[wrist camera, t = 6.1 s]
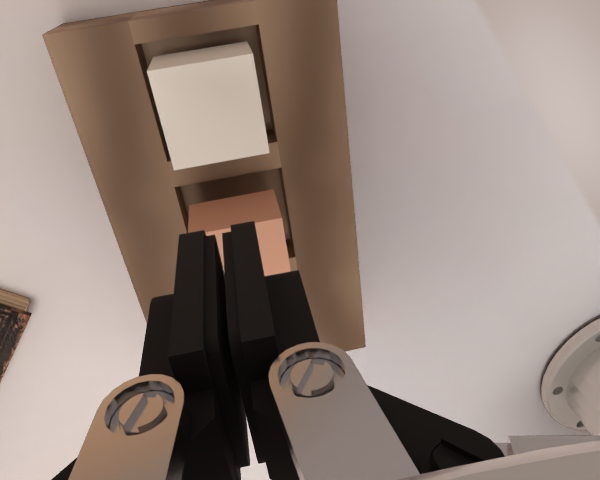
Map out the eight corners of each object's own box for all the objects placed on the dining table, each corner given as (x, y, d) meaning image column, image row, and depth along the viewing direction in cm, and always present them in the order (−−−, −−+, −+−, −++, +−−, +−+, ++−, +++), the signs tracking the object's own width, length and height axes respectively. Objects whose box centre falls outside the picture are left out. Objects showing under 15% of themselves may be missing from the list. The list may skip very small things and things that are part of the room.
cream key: (247, 41, 22) (253, 53, 19) (262, 131, 24) (269, 153, 21) (153, 56, 22) (146, 71, 19) (176, 146, 24) (173, 170, 21)
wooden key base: (319, -17, 24) (335, -12, 21) (351, 312, 35) (365, 346, 32) (62, 23, 23) (42, 34, 20) (173, 349, 34) (170, 388, 31)
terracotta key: (273, 189, 24) (282, 217, 22) (285, 259, 26) (294, 293, 24) (189, 205, 24) (187, 235, 21) (208, 274, 26) (208, 311, 23)
